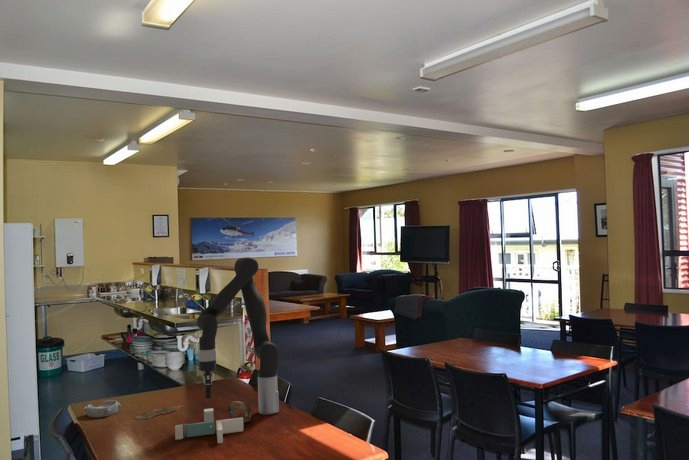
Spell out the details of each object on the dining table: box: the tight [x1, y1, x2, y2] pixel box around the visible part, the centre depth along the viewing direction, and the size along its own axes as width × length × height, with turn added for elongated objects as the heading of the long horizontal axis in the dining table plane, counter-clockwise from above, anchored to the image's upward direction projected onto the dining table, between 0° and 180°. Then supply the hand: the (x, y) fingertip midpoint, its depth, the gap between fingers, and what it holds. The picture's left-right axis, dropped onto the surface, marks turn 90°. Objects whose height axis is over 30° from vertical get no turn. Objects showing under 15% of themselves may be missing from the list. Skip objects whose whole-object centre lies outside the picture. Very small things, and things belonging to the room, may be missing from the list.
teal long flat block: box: [183, 420, 216, 438], centre depth 225 cm, size 13×2×5 cm, turn 106°
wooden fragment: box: [134, 404, 184, 420], centre depth 260 cm, size 26×11×1 cm, turn 137°
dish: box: [84, 399, 122, 418], centre depth 261 cm, size 14×14×5 cm
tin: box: [227, 400, 253, 424], centre depth 244 cm, size 15×3×8 cm, turn 47°
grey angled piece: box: [174, 417, 244, 444], centre depth 221 cm, size 28×13×5 cm, turn 106°
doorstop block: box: [203, 408, 215, 422], centre depth 238 cm, size 4×4×7 cm
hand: (207, 395), depth 238 cm, fingers open, 8 cm apart
